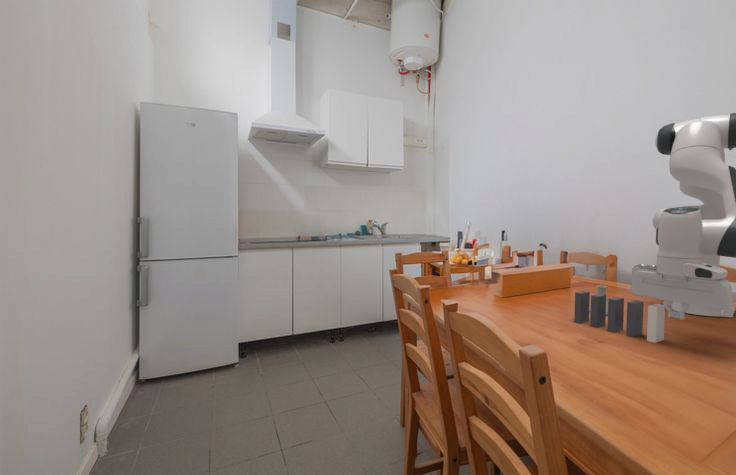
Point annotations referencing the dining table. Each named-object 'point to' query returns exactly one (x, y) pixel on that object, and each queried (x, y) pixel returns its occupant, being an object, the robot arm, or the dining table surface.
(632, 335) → the domino
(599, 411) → the dining table surface
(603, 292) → the flask
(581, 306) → the domino
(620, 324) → the domino
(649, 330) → the domino
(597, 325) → the domino
